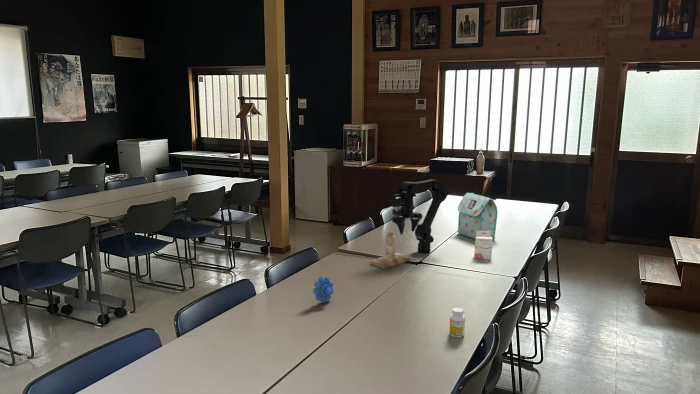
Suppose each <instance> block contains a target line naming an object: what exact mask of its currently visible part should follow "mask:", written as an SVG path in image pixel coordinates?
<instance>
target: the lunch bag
mask: <svg viewBox="0 0 700 394" xmlns="http://www.w3.org/2000/svg"><path fill="white" fill-rule="evenodd" d="M457 211H458V222H457V223H458V224H457V233H458V234H460V235H462V236H465V237H468V238H470V239H473V240H475V238H476V231H491V237H492V239H493V240H496V228H497V219H498V207H497V204H496V203H495V201H494V199H492V198H490V197H487V196H483V195H479V194H475V193H474V192H466V193H465V194H464V196H462V198H461V201H460V202H459V204H458V206H457ZM481 234H486V233H484V232H483V233H481Z"/></svg>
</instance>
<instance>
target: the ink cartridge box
mask: <svg viewBox="0 0 700 394" xmlns="http://www.w3.org/2000/svg"><path fill="white" fill-rule="evenodd" d="M483 232H484V233H486V234H481V233H483ZM493 240H494V239H492V237H491V231H476V238H475V239H474V255H473V256H474V258H475V259H478V260H492V253H493Z"/></svg>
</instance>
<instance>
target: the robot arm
mask: <svg viewBox="0 0 700 394" xmlns="http://www.w3.org/2000/svg"><path fill="white" fill-rule="evenodd" d="M429 188H430V190H431V192H432V194H431V199H432V201H431V202H430V205H429V207H428V210H427V212H426V214H425V216H424V218H423V214H422V213H421V212H416V211H414V210H415V206H414V197H417V194H415V193H417V192H418V191H419V190H424V189H429ZM448 196H449V190H448V188H447V187H445V186H444V185H443V184H441V183H440V182H439V181H438V180H437V179H433V178H430V179H427V180H421V181H415V182H413V181H403V182H402V183H401V186H400V187H399V189H398V190H397V193H396V194H392V197H391V198H390V200H389V203H390V206H391V207H392V208H393V209H392V216H393V217H392V218H391V219H392V220H391V222H392V223H394V224H395V225H396V226H397V228H398V231H399V234H400V235H403V234H404V230H405V226H406V220H410V225H411V229H410V230H411V232H413V233H414V235H415V238H416V241H418V243H417V251H418V252H417V253H420V254H431V244H432V243H433V242H434V240H435V238H434V237H433V236H432V235H431V233H432V224H433V222H434V219H435V218H436V215H437V213H438V211H439V208H440V206H441V204H442V203H443V202H444V201H446V200H447V198H448ZM399 207H400V209H398V208H399ZM422 219H423V221H422V222H421V224H420V223H419V222H420V221H421V220H422Z"/></svg>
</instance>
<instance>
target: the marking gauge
mask: <svg viewBox="0 0 700 394" xmlns="http://www.w3.org/2000/svg"><path fill="white" fill-rule="evenodd" d="M385 236H386V239H385V253H384V254H382V257H383V258H384V259H387V260H390V261H392V260H396V259H398V255H395V253H396V252H395V251H396V248H395V246H396V235H395V234H394V233H393V232H388V234H386V235H385Z"/></svg>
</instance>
